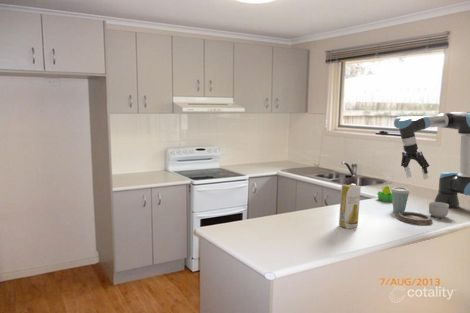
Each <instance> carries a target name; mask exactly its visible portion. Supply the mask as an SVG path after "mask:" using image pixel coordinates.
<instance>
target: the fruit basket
mask: <svg viewBox="0 0 470 313" xmlns="http://www.w3.org/2000/svg"><path fill="white" fill-rule="evenodd" d="M376 194H377V198H378V200H379V201H383V202H391V203H393V201H392V192H391V189H390V187H389V185H385V186H383V188H382V191H377V193H376Z"/></svg>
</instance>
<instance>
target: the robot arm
mask: <svg viewBox="0 0 470 313" xmlns="http://www.w3.org/2000/svg"><path fill="white" fill-rule="evenodd" d="M393 125H394V127H395V129H398V130H399V134H400V138H401V142H402V145H403V152H401V156H402V158H401V162H400V163H401V164H400V166H401V167H403V168H404V172H405V175H406V178H411V177H412V173H411V170H410V162H411V160H414V161H416V163H418V165H419V166H420V167H421V173H422V177H423V180H427V179H429V175H428V173H429V172H428V171H429V170H428V168H429V167H430V164H429V162H428V161H427V159H426V157H425V156H424V154H423V151H418V149H419V148H418V143H417V138H416V134H415V133H416V132H420V131H424V130H426V129H427V128H440V129H451V130H457V131H458V132H457V133H458V135H459V136H460V147H459V149H460V150H459V151H460V152H459V154H460V155H459V156H460V157H459V171H458V172H456V171H455V172H453V171H452V172H450V171H449V172H448V171H446V172H441V173H440V174H439V178H438V180H439V181H438V189H437V190H438V192H437V195H436V197H435V198H434V201H433V202H441V203H446V204H448V205H449V207H452V208H451V209H455V208H456V207H458V208H459V207H460V201H459V197H458V194H461V195H464V196H469V197H470V111H452V112H445V113H439V114H437V115H435V114H434V115H422V116H421V115H420V116H419V115H418V116H398V117H396V118H395V119H394V120H393Z"/></svg>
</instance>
